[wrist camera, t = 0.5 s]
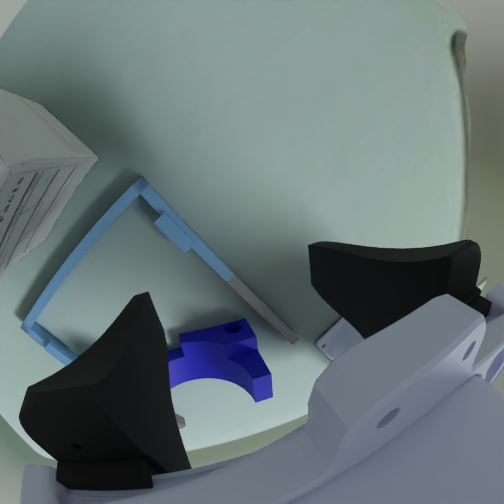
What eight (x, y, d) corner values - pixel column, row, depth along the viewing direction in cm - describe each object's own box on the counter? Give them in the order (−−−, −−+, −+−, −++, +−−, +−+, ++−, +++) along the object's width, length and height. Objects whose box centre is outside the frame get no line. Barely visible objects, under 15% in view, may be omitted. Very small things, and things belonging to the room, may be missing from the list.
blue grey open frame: (293, 332, 26) (301, 341, 24) (179, 420, 25) (181, 432, 24) (142, 175, 17) (140, 177, 16) (24, 320, 17) (18, 330, 15)
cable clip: (244, 317, 24) (270, 360, 18) (249, 354, 25) (272, 397, 20) (114, 345, 20) (109, 395, 15) (131, 380, 22) (132, 428, 17)
